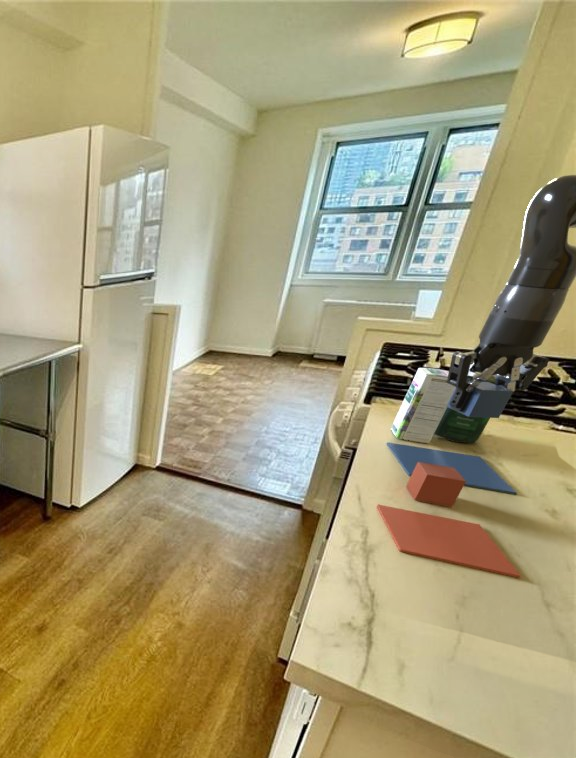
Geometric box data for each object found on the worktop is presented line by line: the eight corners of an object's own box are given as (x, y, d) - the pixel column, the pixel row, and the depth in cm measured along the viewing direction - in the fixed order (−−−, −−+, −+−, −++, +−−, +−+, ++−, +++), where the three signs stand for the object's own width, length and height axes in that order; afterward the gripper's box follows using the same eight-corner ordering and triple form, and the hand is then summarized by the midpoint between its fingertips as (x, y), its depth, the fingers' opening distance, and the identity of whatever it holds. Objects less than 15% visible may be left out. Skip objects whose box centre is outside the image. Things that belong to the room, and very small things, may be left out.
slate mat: (479, 458, 95) (479, 456, 95) (516, 494, 83) (517, 492, 83) (386, 443, 101) (387, 442, 101) (408, 475, 89) (409, 474, 89)
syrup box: (389, 429, 108) (416, 366, 101) (422, 434, 105) (452, 370, 99) (395, 439, 103) (425, 373, 97) (430, 444, 101) (463, 378, 94)
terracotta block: (441, 493, 84) (454, 467, 81) (452, 507, 80) (466, 481, 77) (405, 486, 85) (417, 461, 83) (414, 500, 81) (427, 474, 79)
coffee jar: (477, 448, 99) (524, 360, 91) (427, 436, 104) (468, 352, 96) (478, 434, 106) (522, 351, 97) (431, 424, 111) (469, 343, 102)
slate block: (474, 407, 89) (488, 381, 87) (498, 418, 85) (513, 391, 82) (446, 406, 89) (458, 380, 87) (468, 416, 85) (482, 390, 83)
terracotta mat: (478, 526, 75) (479, 524, 75) (519, 578, 64) (521, 575, 64) (376, 506, 80) (377, 504, 79) (399, 551, 69) (400, 549, 69)
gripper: (496, 317, 76) (447, 417, 84) (593, 320, 75) (535, 420, 83) (457, 309, 83) (415, 401, 91) (546, 311, 82) (496, 404, 90)
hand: (473, 410), depth 87 cm, fingers closed on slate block, 5 cm apart
